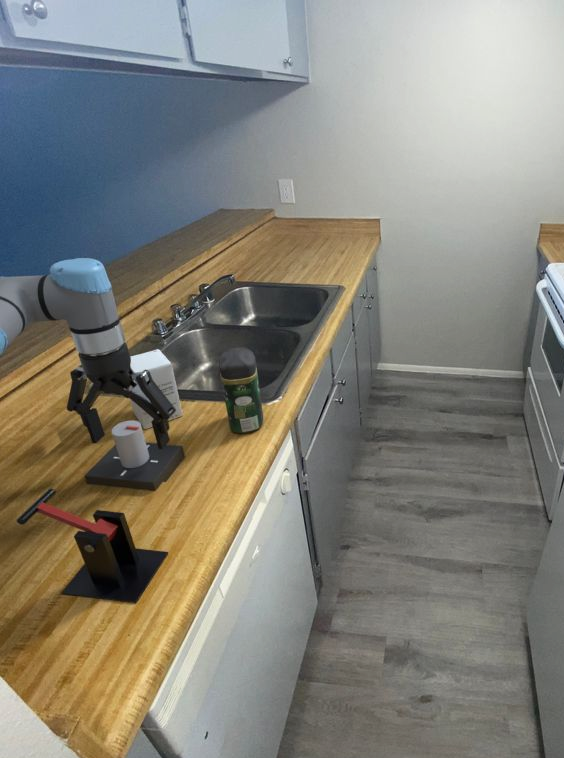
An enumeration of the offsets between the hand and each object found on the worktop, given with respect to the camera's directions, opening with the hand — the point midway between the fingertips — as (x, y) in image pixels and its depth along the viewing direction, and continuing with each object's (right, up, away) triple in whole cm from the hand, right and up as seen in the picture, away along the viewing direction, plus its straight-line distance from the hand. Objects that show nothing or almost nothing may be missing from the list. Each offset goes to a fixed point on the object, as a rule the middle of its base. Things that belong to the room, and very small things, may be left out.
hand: (131, 442), depth 93 cm
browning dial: (0, -4, +2) cm, 5 cm away
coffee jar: (+16, +1, +19) cm, 25 cm away
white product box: (-6, +2, +21) cm, 22 cm away
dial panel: (-1, -7, +3) cm, 8 cm away
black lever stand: (+8, -18, -18) cm, 27 cm away
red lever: (+4, -8, -22) cm, 24 cm away
